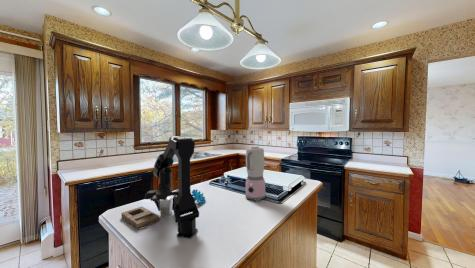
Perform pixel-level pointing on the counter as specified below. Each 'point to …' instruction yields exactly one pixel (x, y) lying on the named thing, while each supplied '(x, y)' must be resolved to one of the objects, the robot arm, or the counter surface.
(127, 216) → the socket block
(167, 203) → the square bit
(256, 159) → the blender
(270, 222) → the counter surface
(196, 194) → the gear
